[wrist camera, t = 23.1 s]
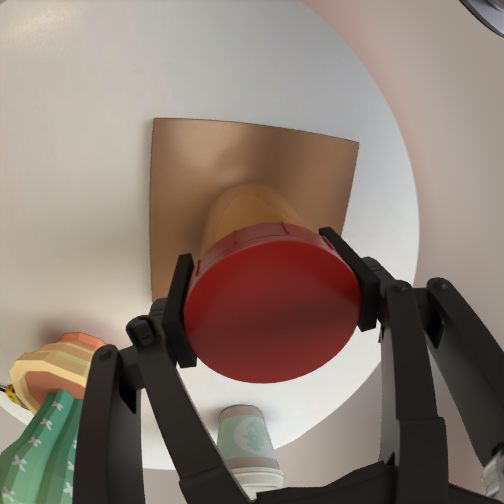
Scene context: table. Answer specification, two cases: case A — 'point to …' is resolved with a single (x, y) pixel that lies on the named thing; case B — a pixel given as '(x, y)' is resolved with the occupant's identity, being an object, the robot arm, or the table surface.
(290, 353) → the jam lid
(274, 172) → the plate
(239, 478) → the coffee cup
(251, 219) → the jar
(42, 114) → the table surface
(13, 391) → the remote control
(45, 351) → the potted cactus
